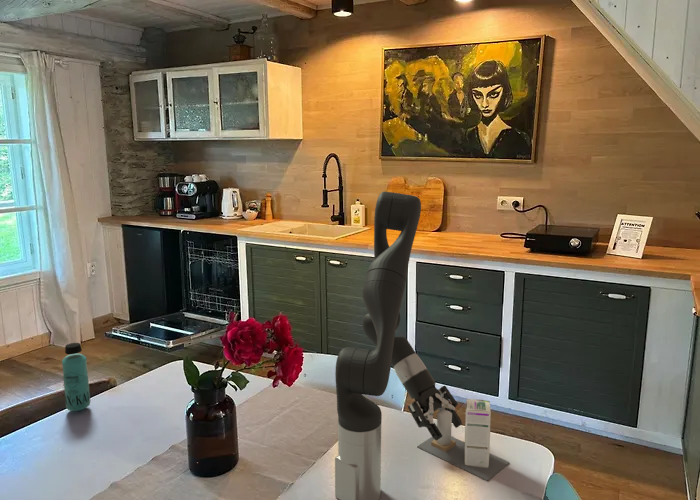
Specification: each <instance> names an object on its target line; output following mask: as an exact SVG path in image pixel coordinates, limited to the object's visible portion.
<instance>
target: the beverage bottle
mask: <svg viewBox="0 0 700 500" xmlns="http://www.w3.org/2000/svg"><path fill="white" fill-rule="evenodd" d="M82 351H83V350H82V344H81V343H79V342H71V343H68V344H66V345H65V347H64V353H65V354H66V356H65V357H63V359H62V360H61V364H62V365H61V366H62V373H63V376H62V379H63V384H62V385H63V390H64V391H63V392H64V403H65V408H66V409H67V410H68V411H72V412H74V411H75V412H76V411H81V410H83V409H86V408H88V407H89V406H90V404H91V392H90V380H89V379H90V377H89V373H88V364H87V363H88V362H87V356H85V355H84V354H82V353H81V352H82Z"/></svg>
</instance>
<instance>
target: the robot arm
mask: <svg viewBox="0 0 700 500" xmlns="http://www.w3.org/2000/svg"><path fill="white" fill-rule="evenodd" d="M421 212H422V202H421V200H420V198H419V197H418V196H416V195H412V194H406V193H399V192H391V191H382V192H380V193H379V195H378V197H377V200H376V202H375V208H374V219H373V220H374V223H373V251H374V252H373V254H374V255H373V258H374V259H373V261H371V263H370V265H369V266H368V267H367V270H366V274H365V279H364V283H363V287H362V290H361V291H362V292H361V293H362V294H361V295H362V301H363V303H364V305H365V309H366V312H367V313H366V314H365V315H364V316H363V317H362V320H361V326H362V329H363V332H364V334H365V336H366V337H367V338H368V339H369V340H370V341H371V342H372V343H373V344H374V345H375V346H376V347H375V349H368V348H367V349H366V348H358V347H350V346H347V347H343V348H342V349H341V350H340V351H339V353H338V354H337V358H336V363H335V377H334V378H335V387H336V388H335V390H336V409H337V410H336V411H337V412H336V413H337V419H338V420H337V421H338V422H337V425H338V427H337V429H338V431H337V432H338V433H337V434H338V435H337V440H338V441H337V442H338V443H337V445H338V446H337V447H338V448H337V450H338V451H337V452H338V454H337V456H335V457H334V486H335V487H334V492H335V493H334V497H335V498H337V499H338V500H379V499H380V498H381V489H382V488H381V486H382V485H381V484H382V483H381V481H382V480H381V479H382V477H381V475H382V473H381V472H382V413H383V412H382V410H381V407H380V406H379V405H378V404H377V403H375V402H374V401H372V400H370V399H368V398H367V397H365V396H373V397H380V396H382V395H383V394H385V391H386V390H387V387H388V383H389V379H390V374H391V368H393V369H394V372H395V374H396V376H397V378H398V380H399V381H400V382H401V385H402V386H403V388H404V389H405V391H406V392H407V394H408V396H409V397H410V399H413V400H414V401H413V402H411V403H410V404H408V406H407V408H408V410H409V412H410V414H411V416H412V417H413V420H414V421H415V423H416V425H417V427H418V428H426V429H427V430H428V432H429V434H430V435H431V437H433V438H434V439H435V440H438V439H440V438H441V437H442V434H441V432H440V431H439V429H438V428H437V423H435V422H434V412H436V411H440V410H447V411H450V412H451V413H452V425H453V426H454V428H456V429H457V428H459V427H460V426H462V424H463V422H462V419H461V418H460V416H459V415H458V413H457V412H456V408H457V407H458V402H457V400H456V399H455V397H454V396H453V395H452V393H451V392H450V390H449V389H448V388H447V385H443V386H441V387H440V388H439V389H438V388H437V387H436V383H437V382H436V381H435V379H434V378H433V376H432V374H431V373H430V372H429V369H428V368H427V367H426V365H425V363H424V362H423V361H422V359H421V357H419V355H418V354H417V352H416V351H415V349H414V348H413V346H412V345H411V343H410V342H409V341H408V339H407V338H406V337H405V336H396V330H397V329H398V328H399V325H400V323H401V312H400V310H401V306H402V302H403V297H404V292H405V288H406V283H407V277H408V270H409V263H410V257H411V253H412V248H413V244H414V240H415V237H416V233H417V229H418V226H419V221H420V218H421ZM387 230H393V231H398V232H399V235H398V237H397V238H396V239H395V240H394V241H393V243H392V244H391V245H389V241H388V236H387ZM391 366H392V367H391ZM364 395H365V396H364Z"/></svg>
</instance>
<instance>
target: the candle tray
mask: <svg viewBox="0 0 700 500" xmlns="http://www.w3.org/2000/svg"><path fill="white" fill-rule="evenodd" d="M436 416H437V417H436V426H437V428H438V429H439V431H440V432H441V434H442V437H441V438H440V439H438V440H435V439H434V438H433V437H432V436H431V437H429V438H427V439H426V440H424V441H423V442H422V443H421V442H420V444H419V445H417V446H416V448H418V449H419V450H422V451H424V452H427V453H428V454H430V455H432V456H435V458H438V459H440V460H442V461H444V462H447V463H449V464H451V465H453V466H455V467H457V468H459V469H461V470H463V471H466V472H467V473H470V474H471V475H472V476H473V475H474V476H476V477H477V478H480V479H482V480H484V481H486V482H488V481H490V480H491V479H492V478H493V477H494V476H496V475H497V474H498V473H499V472H501V471H502V470H503V469H504V468H505V467H506V466H508V465H509V464H510V461H508V460H506V459H503V458H501V457H499V456H497V455H495V454H492V453H490V452H489V467H488V468H484V467H475V466H468V465H465V441H463V440H461V439H458V438H456V437H454V436H452V425H453V423H452V413H451V412H450V411H447V410H437V415H436Z"/></svg>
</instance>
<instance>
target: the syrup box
mask: <svg viewBox="0 0 700 500" xmlns="http://www.w3.org/2000/svg"><path fill="white" fill-rule="evenodd" d="M491 411H492V410H491V402H490V400H486V399H475V398H466V403H465V421H464V422H465V425H464V442H465V465H468V466H475V467H484V468H488V467H489V453H490V449H491V447H490V446H491V445H490V444H491V443H490V442H491V416H492V415H491V414H492V413H491Z"/></svg>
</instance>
